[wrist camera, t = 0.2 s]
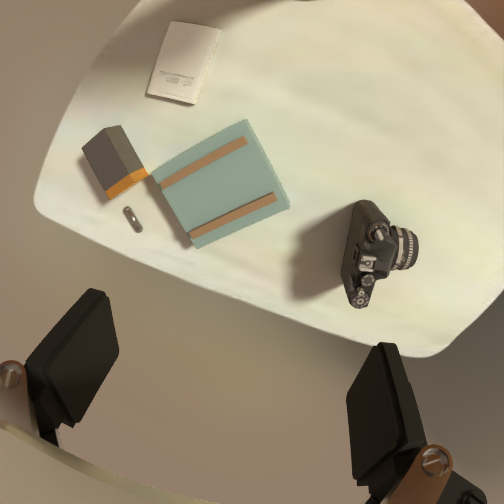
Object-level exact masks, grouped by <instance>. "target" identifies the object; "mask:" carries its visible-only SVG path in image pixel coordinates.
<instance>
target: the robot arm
mask: <svg viewBox="0 0 504 504" xmlns="http://www.w3.org/2000/svg"><path fill="white" fill-rule="evenodd" d="M118 354H119V346H118V341H117V337H116V332H115V327H114V323H113V317H112V311H111V306H110V300H109V298H108V297H107V296H106V294H105V292H103V291H100V290H96V289H93V288H90V289H88V290H87V291H86V292H85V293H84V294H83V295H82V296H81V297H80V298H79V300H78V301H77V302H76V303H75V304H74V305H73V306H72V307H71V308H70V309H69V310H68V312H67V313H66V314H65V315H64V316H63V317H62V318H61V319H60V321H59V322H58V323H57V324H56V325H55V326H54V327H53V328H52V330H51V331H50V332H49V333H48V334H47V336H46V337H45V338H44V339H43V340H42V341H41V343H40V344H39V345H38V346H37V347H36V349H35V350H34V351H33V352H32V354H31V355H30V356H29V357H28V359H27V360H26V363H25V365H24V366H23V365H22V364H21V363H20V362H18V361H15V360H8V361H5V362H2V363H1V364H0V504H220V503H214V502H209V501H205V500H200V499H196V498H191V497H187V496H183V495H179V494H175V493H172V492H168V491H165V490H161V489H158V488H155V487H152V486H148V485H145V484H142V483H139V482H137V481H134V480H131V479H128V478H125V477H123V476H120V475H118V474H115V473H113V472H110V471H108V470H105V469H103V468H101V467H98V466H96V465H94V464H91V463H89V462H87V461H85V460H82V459H81V458H79V457H76V456H75V455H73V454H70V453H68V452H66V451H64V449H63V445H62V441H61V437H60V432H59V426H60V424H61V423H64V424H66V425H68V426H70V427H72V428H73V427H74V425H75V423H79V422H80V421H81V420H82V418H83V416H84V414H85V412H86V411H87V409H88V407H89V405H90V403H91V402H92V400H93V398H94V396H95V395H96V393H97V391H98V390H99V388H100V386H101V384H102V383H103V381H104V379H105V378H106V376H107V374H108V372H109V371H110V369H111V367H112V366H113V364H114V362H115V361H116V359H117V357H118ZM346 404H347V413H348V424H349V435H350V446H351V459H352V475H353V478H354V479H355V480H357V486H369V494H368V496H367V497H366V498H365V499H364V501H363V502H362V503H361V504H487V500H486V496H485V494H484V492H483V491H482V490H480V489H479V488H478V487H476V486H475V485H473V484H472V483H470V482H469V481H467V480H466V479H464V478H463V477H461V476H460V475H458V474H457V473H456V472H454V471H453V470H452V469H453V459H452V456H451V454H450V453H449V451H448V450H447V449H446V448H444V447H443V446H440V445H437V444H431V445H427V441H426V437H425V433H424V430H423V425H422V422H421V418H420V414H419V411H418V407H417V403H416V400H415V396H414V393H413V390H412V387H411V384H410V382H409V381H408V379H407V376H406V373H405V369H404V366H403V363H402V360H401V357H400V354H399V351H398V348H397V346H396V344H395V343H386V342H379V343H378V345H377V346H373V347H372V349H371V351H370V353H369V355H368V357H367V359H366V361H365V362H364V364H363V366H362V368H361V370H360V372H359V374H358V375H357V377H356V379H355V380H354V382H353V384H352V386H351V387H350V389H349V391H348V393H347V397H346Z"/></svg>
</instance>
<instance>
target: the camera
mask: <svg viewBox="0 0 504 504" xmlns="http://www.w3.org/2000/svg"><path fill="white" fill-rule="evenodd" d="M418 250H419V244H418V239H417V236H416V235H415V234H413V232H412V231H410V230H408V229H406V228H399V227H398V226H395V225H394V226H393V225H392V226H390V221H389V220H388V219H387V217H386V216H385V215H384V214H383V213H382V212H381V211H380V210H379V208H378V207H377V206H376V205H375V203H374V202H372V201H368V200H360V201H358V202H357V203H356V204H355V206H354V208H353V214H352V220H351V225H350V230H349V235H348V240H347V245H346V250H345V254H344V259H343V264H342V269H341V276H342V280H343V284H344V287H345V291H346V294H347V297H348V300H349V303H350V304H351V305H352V306H353V307H354V308H358V309H361V308H364V307H367V306H368V303H369V300H370V297H371V294H372V291H373V287H374V284H375V282H376V280H379V279H385V278H387V277H388V275H389V273H390V270H391V271H393V270H396V269H398V270H405V269H409V268H410V267H412V266H413V265H414V264H415V262H416V260H417V257H418Z"/></svg>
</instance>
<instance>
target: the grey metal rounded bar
mask: <svg viewBox="0 0 504 504" xmlns="http://www.w3.org/2000/svg"><path fill="white" fill-rule="evenodd" d="M124 211H125V213H126V215H127V216H128V218H129V219H130V221H131V223H132V224H133V226H134V228H135V229H136V231H137V232H142V230H143V228H142V226H141V224H140V223H139V221H138V219H137V218H136V216H135V215H134V213H133V211H132V210H131V208H130V207H129V206H127V207H125V209H124Z"/></svg>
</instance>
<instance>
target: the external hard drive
mask: <svg viewBox="0 0 504 504" xmlns="http://www.w3.org/2000/svg"><path fill="white" fill-rule="evenodd" d="M221 31H222V30H221V29H219V28H214V27H209V26H203V25H197V24H191V23H184V22H177V21H170V24H169V27H168V29H167V32H166V35H165V38H164V40H163V43H162V46H161V49H160V52H159V55H158V58H157V61H156V64H155V67H154V70H153V74H152V77H151V80H150V84H149V87H148V90H147V94H152V95H157V96H161V97H166V98H170V99H175V100H179V101H183V102H187V103H191V104H196V102H197V99H198V96H199V93H200V90H201V87H202V84H203V81H204V78H205V75H206V72H207V69H208V66H209V63H210V61H211V58H212V55H213V52H214V50H215V47H216V44H217V42H218V39H219V36H220V34H221Z"/></svg>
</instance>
